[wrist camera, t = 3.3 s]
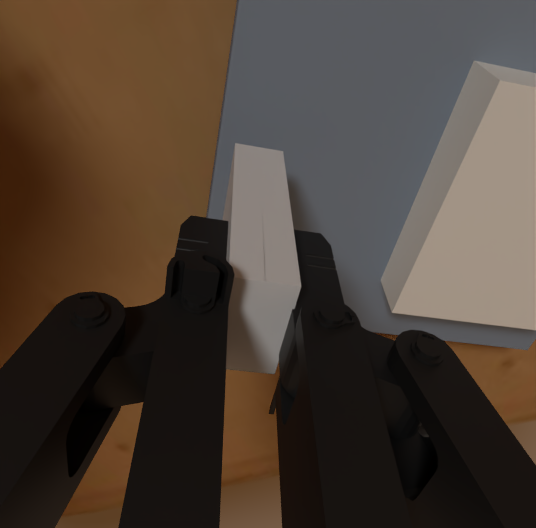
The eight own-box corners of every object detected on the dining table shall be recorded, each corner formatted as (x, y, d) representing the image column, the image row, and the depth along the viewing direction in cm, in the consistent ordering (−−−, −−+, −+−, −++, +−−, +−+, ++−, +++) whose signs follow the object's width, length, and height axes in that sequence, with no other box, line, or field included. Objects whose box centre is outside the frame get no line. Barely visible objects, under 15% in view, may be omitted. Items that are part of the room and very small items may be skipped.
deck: (199, 269, 24) (193, 311, 22) (253, -116, 15) (255, -116, 13) (501, 307, 26) (527, 349, 24) (701, -6, 17) (774, 11, 15)
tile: (380, 280, 21) (391, 312, 19) (473, 60, 16) (500, 80, 14) (530, 300, 22) (553, 332, 20) (666, 100, 17) (711, 122, 15)
